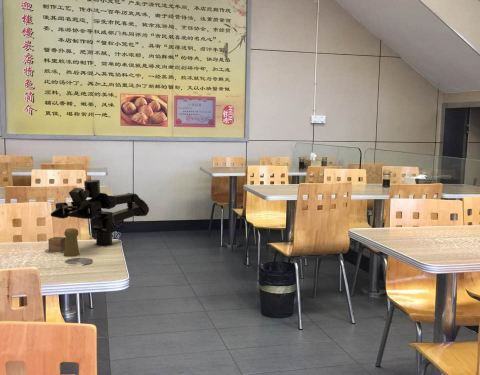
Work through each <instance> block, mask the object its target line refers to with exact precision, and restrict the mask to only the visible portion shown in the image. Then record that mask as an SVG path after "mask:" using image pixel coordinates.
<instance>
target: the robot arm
mask: <svg viewBox="0 0 480 375" xmlns="http://www.w3.org/2000/svg"><path fill="white" fill-rule="evenodd" d="M83 182H84V183H83V185H84V188H82V187H74V188H72V189H71V190H70V191H69V192H68V194H69V196H70V199H71V202H70V204H71V205H69V204H68V203H67V202H66V201H65V202H56V203H55V204H54V205H55V206H54V207H55V210H53V211H52V212H51V213H50V217H53V218H57V219H60V220H61V219H62V220H63V219H67V218H69V217H70V218H75V219H83V220H90V224H91V228H92V231H93V232H96V237H95V238H96V239H95V240H96V243H94V244H93V245H94V246H98V247H99V246H100V247H109V246H112V245H116V243H113V233H115V232H116V231H117V225H116V223H119V222H121V221H124V220H127V219H129V218H133V217H147V216H148V213H149V212H150V207H149V205H148V203H146V201H144V199H142V198H141V197H140V196H139V195H138V194H137V193H134V192H133V193H132V192H131V193H130V192H128V193H125V194H124V193H123V194H117V195H116V194H115V195H108V194H107V193H106V192H105V193H104V192H101V188H100V185H101V182H100V179H89V180H84V181H83ZM88 198H89V199H88ZM124 204H126V208H123V209H119V210H117V211H115V212H112V211H104V210H103V209H105V210H111V209H113V208H115V207H116V206H118V205H124Z"/></svg>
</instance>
